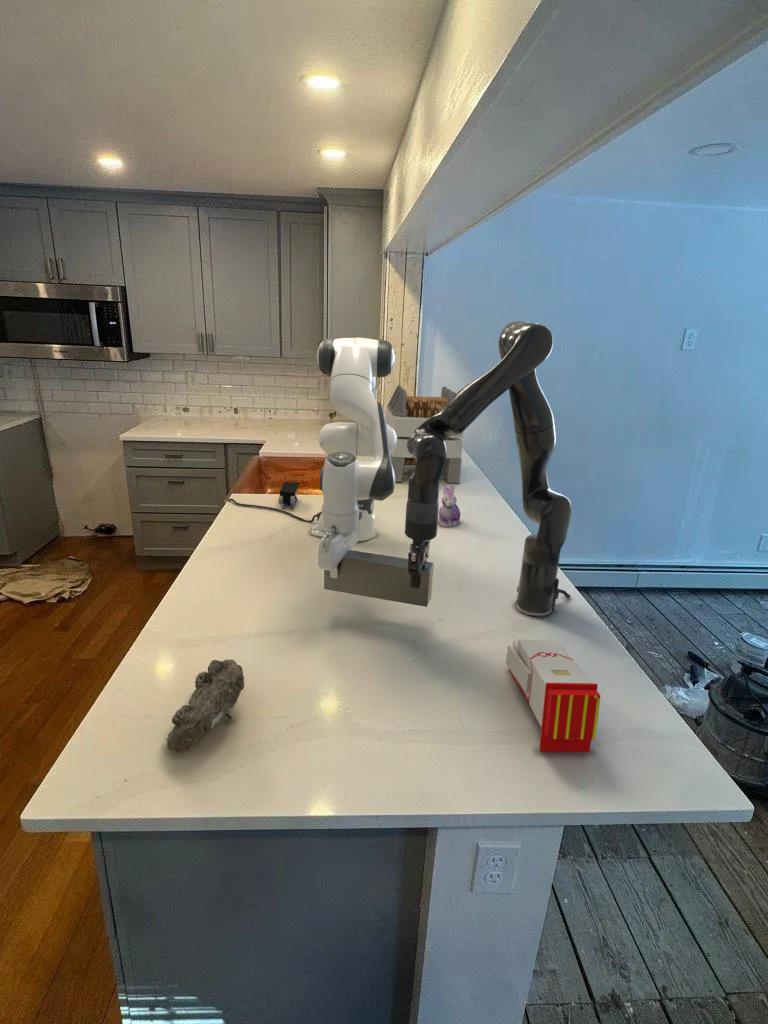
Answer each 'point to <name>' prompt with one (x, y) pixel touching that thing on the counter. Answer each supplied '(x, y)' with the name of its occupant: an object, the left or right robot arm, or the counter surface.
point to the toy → (556, 694)
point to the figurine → (449, 508)
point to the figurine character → (288, 494)
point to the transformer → (411, 414)
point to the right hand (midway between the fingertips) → (417, 581)
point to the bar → (380, 578)
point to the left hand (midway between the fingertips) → (339, 571)
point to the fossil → (206, 705)
